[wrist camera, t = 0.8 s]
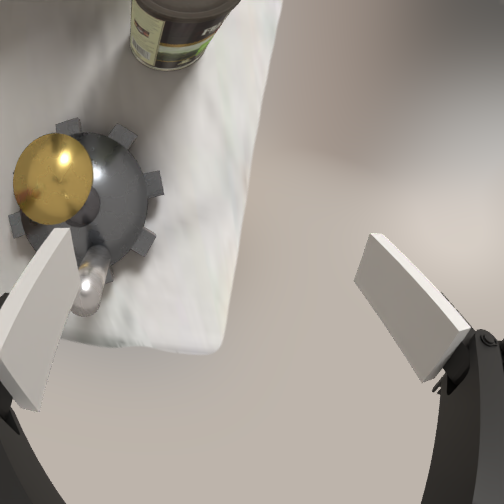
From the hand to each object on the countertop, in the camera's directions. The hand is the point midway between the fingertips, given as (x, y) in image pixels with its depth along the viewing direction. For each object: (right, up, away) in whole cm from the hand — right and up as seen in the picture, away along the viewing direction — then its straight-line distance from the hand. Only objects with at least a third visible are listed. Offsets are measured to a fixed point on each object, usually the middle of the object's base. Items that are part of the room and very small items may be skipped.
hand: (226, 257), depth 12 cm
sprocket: (-19, +6, +19) cm, 27 cm away
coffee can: (-9, +27, +17) cm, 34 cm away
